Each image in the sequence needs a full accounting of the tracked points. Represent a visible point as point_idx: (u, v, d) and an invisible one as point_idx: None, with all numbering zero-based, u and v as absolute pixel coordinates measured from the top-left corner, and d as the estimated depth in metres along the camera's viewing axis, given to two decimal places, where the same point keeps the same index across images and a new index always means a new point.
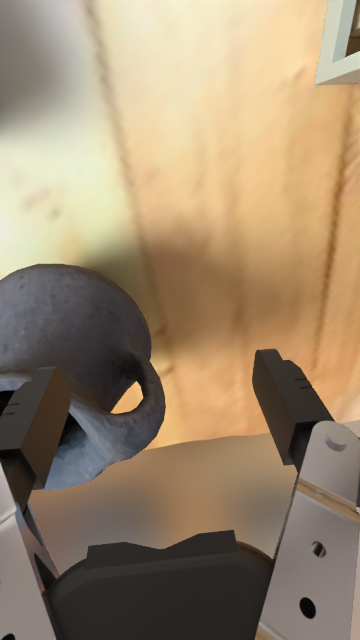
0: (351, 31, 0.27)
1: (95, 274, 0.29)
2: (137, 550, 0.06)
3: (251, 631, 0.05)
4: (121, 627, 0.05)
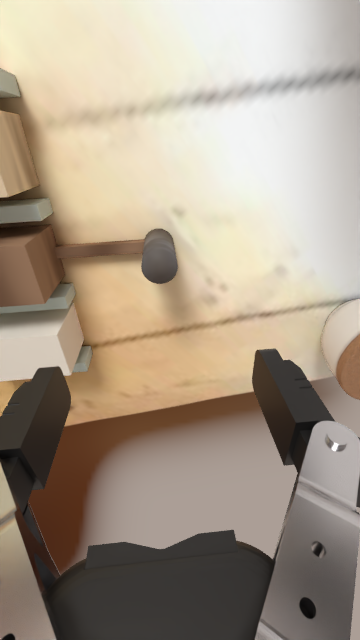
0: None
1: None
2: (137, 550, 0.06)
3: (251, 631, 0.05)
4: (121, 627, 0.05)
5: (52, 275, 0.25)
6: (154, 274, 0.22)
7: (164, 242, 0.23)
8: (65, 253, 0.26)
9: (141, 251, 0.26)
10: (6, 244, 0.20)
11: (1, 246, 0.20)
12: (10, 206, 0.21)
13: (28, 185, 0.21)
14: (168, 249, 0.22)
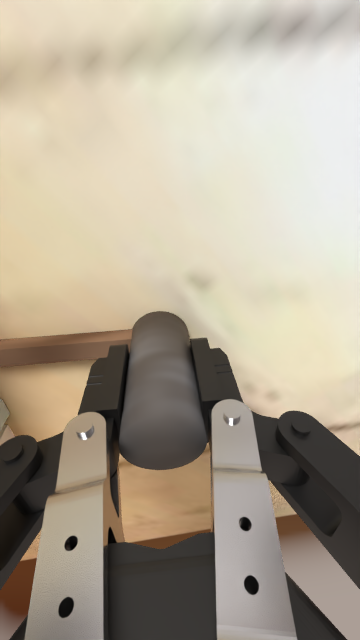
0: None
1: None
2: (137, 550, 0.06)
3: None
4: (121, 627, 0.05)
5: None
6: (149, 456, 0.09)
7: (173, 368, 0.10)
8: None
9: None
10: None
11: None
12: None
13: None
14: (184, 402, 0.09)
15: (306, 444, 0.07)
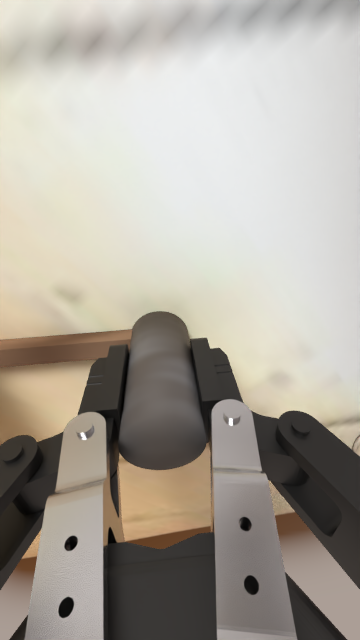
0: None
1: None
2: (137, 550, 0.06)
3: None
4: (121, 627, 0.05)
5: None
6: (149, 456, 0.09)
7: (173, 368, 0.10)
8: None
9: None
10: None
11: None
12: None
13: None
14: (184, 402, 0.09)
15: (306, 444, 0.07)
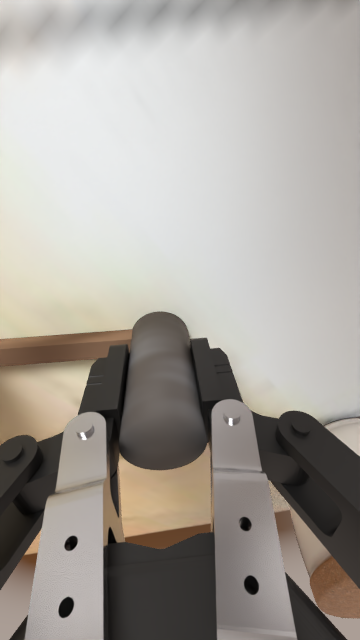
0: None
1: None
2: (137, 550, 0.06)
3: None
4: (121, 627, 0.05)
5: None
6: (149, 457, 0.09)
7: (173, 368, 0.10)
8: None
9: None
10: None
11: None
12: None
13: None
14: (185, 402, 0.09)
15: (306, 444, 0.07)
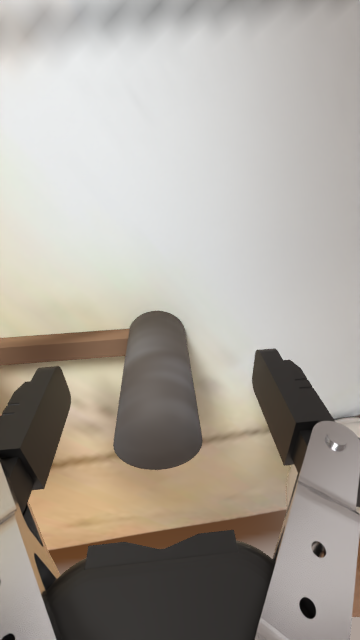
0: None
1: None
2: (137, 550, 0.06)
3: (251, 631, 0.05)
4: (121, 627, 0.05)
5: None
6: (144, 456, 0.09)
7: (169, 367, 0.10)
8: None
9: (122, 353, 0.13)
10: None
11: None
12: None
13: None
14: (180, 402, 0.09)
15: None
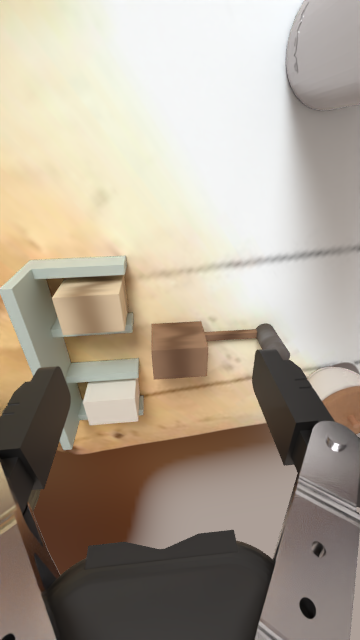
0: (64, 280, 0.33)
1: None
2: (137, 550, 0.06)
3: (251, 631, 0.05)
4: (121, 627, 0.05)
5: None
6: None
7: (278, 339, 0.38)
8: (207, 338, 0.40)
9: (254, 337, 0.41)
10: (195, 345, 0.35)
11: (194, 347, 0.35)
12: None
13: (126, 313, 0.35)
14: (284, 347, 0.36)
15: None
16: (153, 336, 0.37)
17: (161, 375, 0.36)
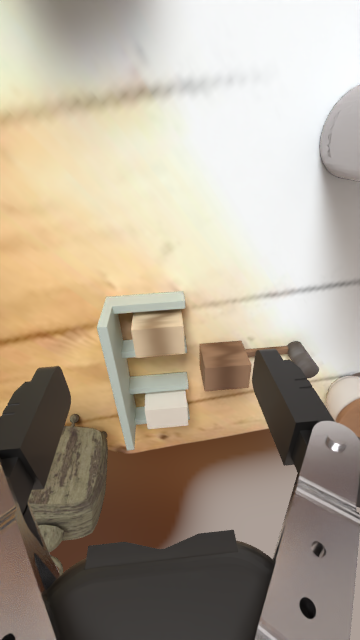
0: (133, 312, 0.41)
1: None
2: (137, 550, 0.06)
3: (251, 631, 0.05)
4: (121, 627, 0.05)
5: None
6: (306, 374, 0.44)
7: (308, 356, 0.45)
8: None
9: (285, 353, 0.48)
10: (240, 362, 0.42)
11: (240, 364, 0.42)
12: None
13: None
14: (314, 362, 0.43)
15: None
16: (203, 355, 0.44)
17: (211, 387, 0.44)
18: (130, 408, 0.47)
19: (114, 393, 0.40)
